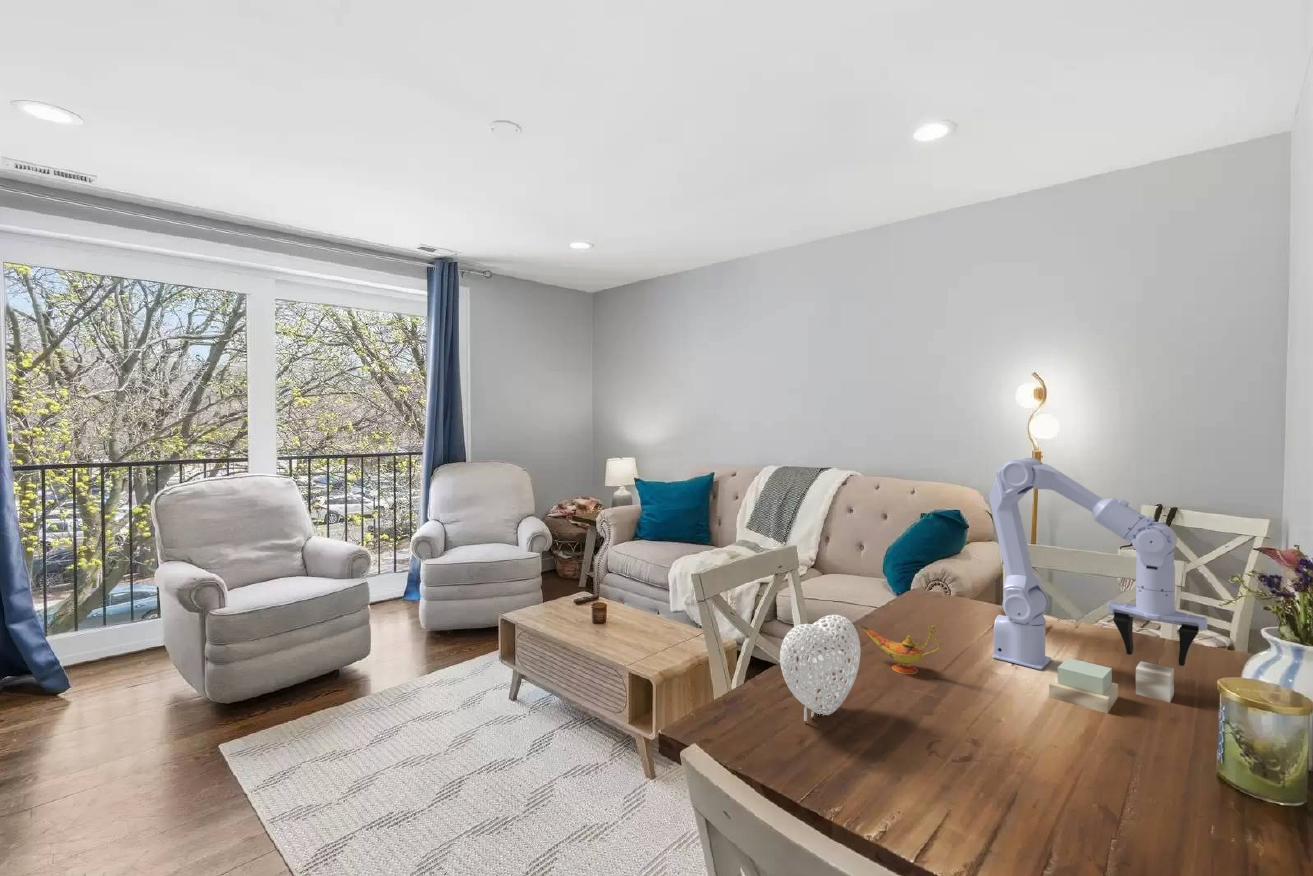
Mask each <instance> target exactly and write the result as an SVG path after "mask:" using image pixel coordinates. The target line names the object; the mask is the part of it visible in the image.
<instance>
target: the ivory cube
mask: <svg viewBox="0 0 1313 876" xmlns="http://www.w3.org/2000/svg"><path fill="white" fill-rule="evenodd" d="M1174 694H1175V668H1173V667H1169V666H1163V665H1159V664H1154V663H1150V662H1146V661H1141V660H1140V661H1139V663H1138V664H1137V665H1136V668H1135V695H1137V696H1141V697H1145V698H1150V699H1154V700H1158V701H1162V702H1166V703H1168V704H1169V703H1171V702H1172V699H1173V697H1174V696H1175V695H1174Z"/></svg>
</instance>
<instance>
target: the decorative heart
mask: <svg viewBox="0 0 1313 876" xmlns="http://www.w3.org/2000/svg"><path fill="white" fill-rule="evenodd" d="M826 625H827V626H826ZM839 627H840V628H839ZM799 636H800V637H799ZM842 637H843V638H842ZM860 641H861V640H860V637H859V634H858V631H857V629H856V627H855V626H854V624H853V623H852V622H851V621H850V619H848V618H847V617H845V616H843V615H839V614H829V615H825V616H823V617H821V618H819V619H818V620H816V621H815V622H813V623H812V624H811V623H803V624H797V625H795V626H794V627H793V628H791V629H790V630H789V631H788V632H787V633H786V635H784V638H783V640H782V643H781V646H780V650H779V651H780V652H779V653H780V654H779V663H780V664H779V665H780V668H781V669H780V670H781V673H782V676H783V679H784V681H785V684H786V685H787V688H788V689H789V690H790V692H791V693H792V695H793V696H794V697H795V698H796V699H797V700H798V701H799V702H800V703H801V704H802V705H803V706H804V708H803V721H807V722H808V709H809V710H811V712H810V718H811V717H813V716H814V717H815V714H817V715H818V714H819V715H820V714H823V715H822V716H824V715H827V716H829V715H831V714H833V713H834V712H836V711H837V710H838V709H839V708H841V705H842V704H843V702H845V700H846V698H847V697H848V695H849V693H850V691H851V689H852V687H853V686H854V684H855V681H856V678H857V675H858V672H859V668H860V662H861V642H860ZM801 647H802V648H801ZM825 648H826V649H825ZM842 650H843V651H842ZM797 659H798V660H797ZM849 659H850V660H849ZM840 671H841V672H840ZM833 674H835V675H833ZM834 679H835V680H834ZM818 690H819V692H818ZM816 698H817V699H816ZM821 706H822V707H821ZM818 709H819V710H818Z"/></svg>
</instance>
